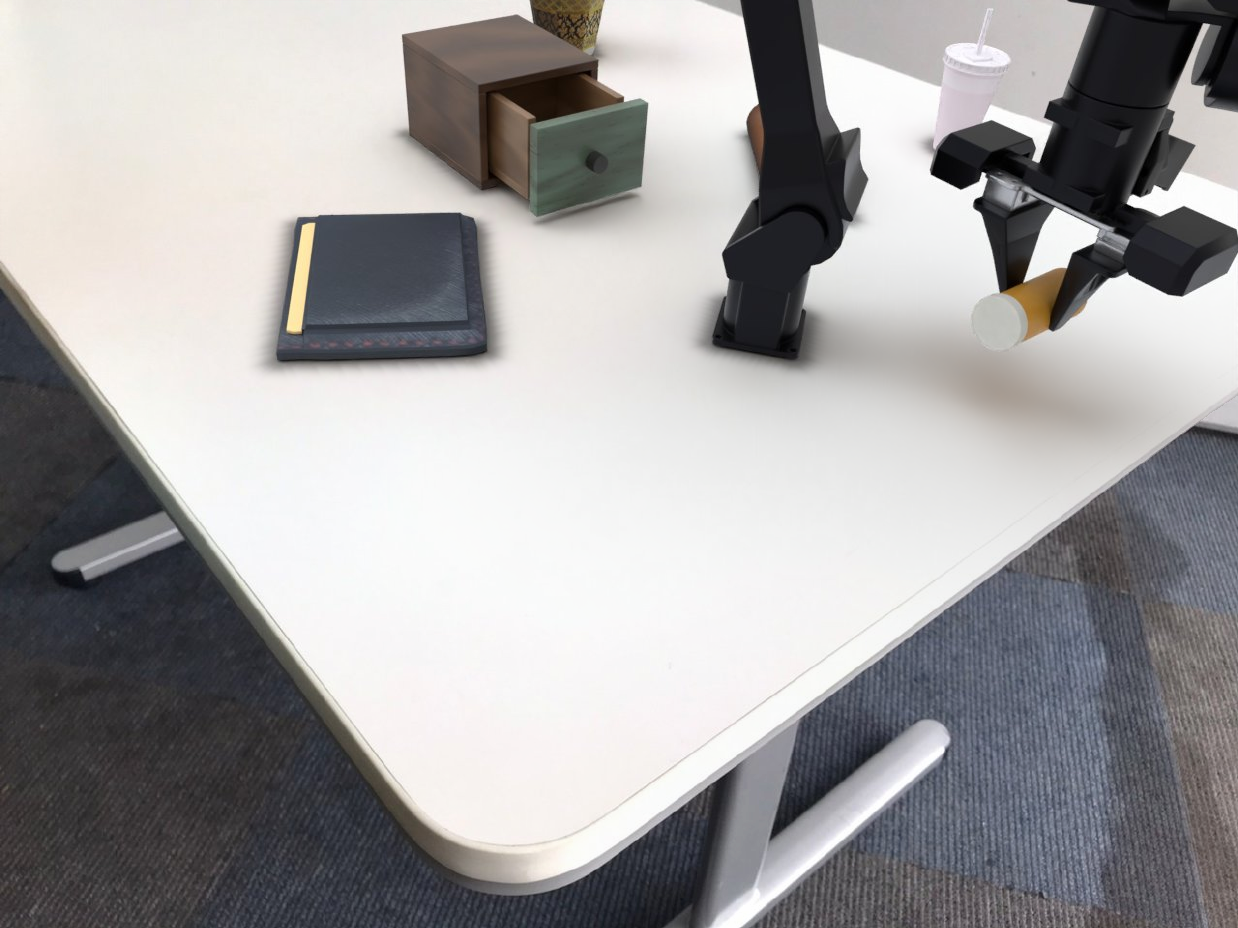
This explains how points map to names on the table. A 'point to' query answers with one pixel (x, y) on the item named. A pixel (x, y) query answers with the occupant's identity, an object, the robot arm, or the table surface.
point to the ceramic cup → (570, 20)
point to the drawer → (565, 141)
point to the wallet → (383, 288)
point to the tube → (1017, 312)
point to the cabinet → (476, 82)
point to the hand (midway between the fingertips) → (1031, 315)
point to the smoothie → (968, 83)
